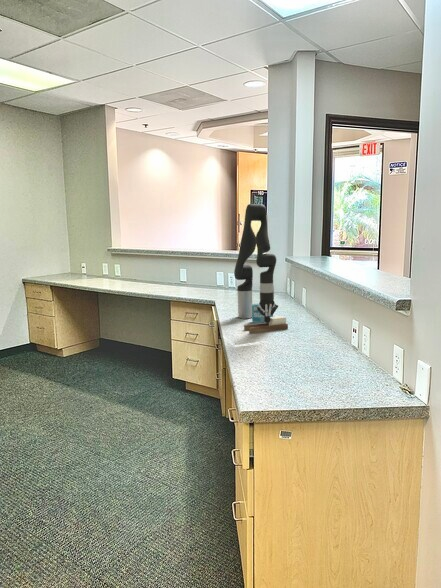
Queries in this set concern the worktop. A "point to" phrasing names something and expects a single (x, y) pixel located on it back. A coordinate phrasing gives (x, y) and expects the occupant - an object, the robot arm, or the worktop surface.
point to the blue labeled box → (257, 315)
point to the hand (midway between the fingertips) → (267, 322)
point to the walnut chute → (264, 327)
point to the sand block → (277, 320)
